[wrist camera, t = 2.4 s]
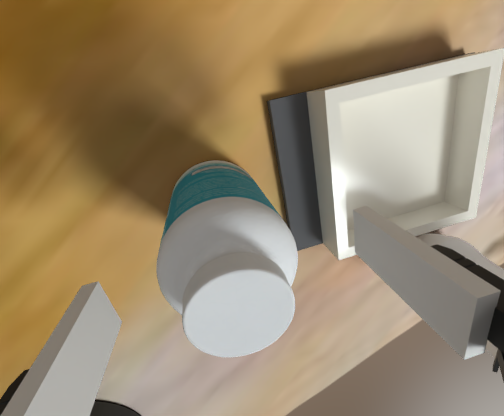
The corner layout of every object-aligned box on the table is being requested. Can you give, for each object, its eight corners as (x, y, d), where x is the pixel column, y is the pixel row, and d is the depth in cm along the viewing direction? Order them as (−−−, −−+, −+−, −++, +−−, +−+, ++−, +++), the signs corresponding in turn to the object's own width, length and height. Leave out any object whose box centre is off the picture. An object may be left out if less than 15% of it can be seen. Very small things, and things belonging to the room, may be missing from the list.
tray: (322, 243, 26) (338, 260, 23) (306, 92, 20) (324, 90, 17) (446, 205, 27) (475, 217, 24) (464, 54, 21) (505, 47, 19)
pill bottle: (154, 184, 21) (96, 297, 9) (234, 142, 21) (289, 197, 9) (199, 251, 24) (205, 404, 12) (269, 215, 24) (346, 330, 12)
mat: (291, 247, 26) (294, 251, 25) (266, 101, 20) (269, 100, 20) (448, 200, 28) (454, 203, 27) (465, 54, 22) (474, 52, 21)
